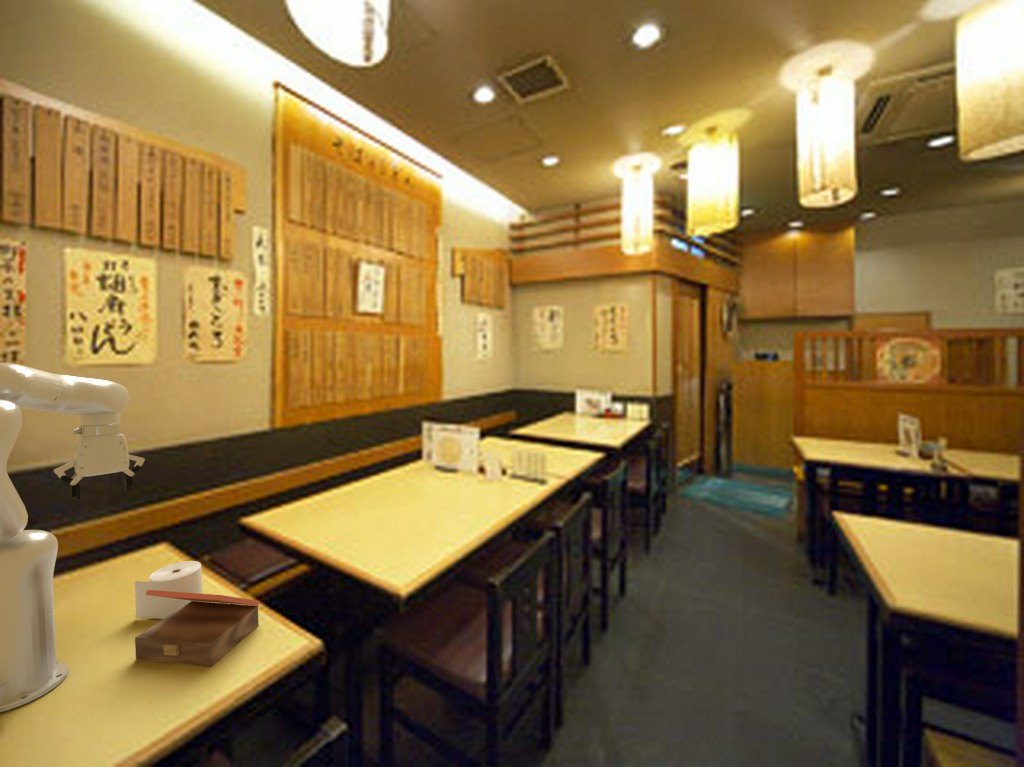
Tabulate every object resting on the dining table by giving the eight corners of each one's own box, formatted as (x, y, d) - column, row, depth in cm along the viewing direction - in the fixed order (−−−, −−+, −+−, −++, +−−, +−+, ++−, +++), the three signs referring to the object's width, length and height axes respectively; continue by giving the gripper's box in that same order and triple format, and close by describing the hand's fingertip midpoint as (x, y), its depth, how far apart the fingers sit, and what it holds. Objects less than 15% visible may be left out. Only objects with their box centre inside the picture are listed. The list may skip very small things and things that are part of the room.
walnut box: (208, 668, 88) (208, 645, 87) (133, 661, 90) (132, 639, 89) (258, 625, 102) (258, 605, 102) (192, 620, 104) (191, 600, 104)
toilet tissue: (212, 599, 114) (211, 563, 113) (165, 625, 102) (164, 586, 101) (182, 593, 116) (181, 558, 116) (134, 618, 105) (132, 580, 104)
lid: (219, 600, 90) (221, 595, 91) (145, 594, 92) (147, 589, 93) (258, 605, 102) (259, 601, 102) (191, 600, 104) (193, 596, 104)
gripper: (55, 436, 101) (57, 505, 102) (147, 428, 115) (148, 489, 116) (50, 433, 106) (53, 500, 106) (139, 426, 120) (141, 485, 120)
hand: (103, 494), depth 111 cm, fingers open, 9 cm apart
